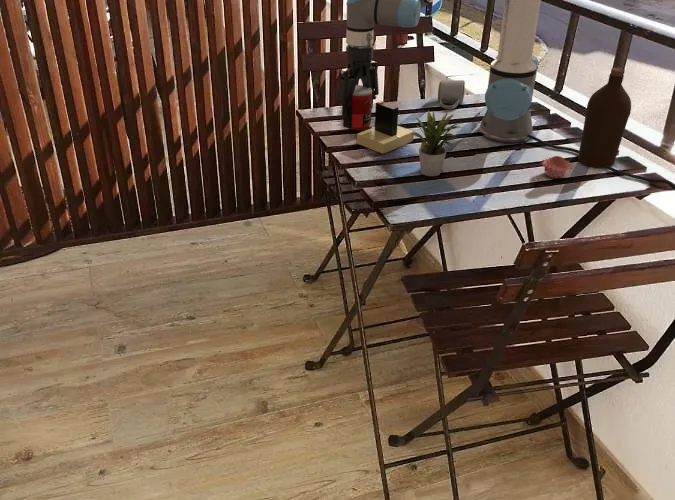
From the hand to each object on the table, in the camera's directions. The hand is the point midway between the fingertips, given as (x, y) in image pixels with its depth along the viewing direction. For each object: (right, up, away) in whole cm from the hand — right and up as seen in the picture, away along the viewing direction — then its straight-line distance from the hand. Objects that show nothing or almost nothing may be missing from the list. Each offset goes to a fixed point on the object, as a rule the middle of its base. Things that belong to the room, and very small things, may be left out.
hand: (357, 123), depth 190 cm
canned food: (0, -1, +1) cm, 1 cm away
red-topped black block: (+8, -4, -7) cm, 11 cm away
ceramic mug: (+31, +10, +22) cm, 39 cm away
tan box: (+8, -6, -5) cm, 11 cm away
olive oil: (+64, -13, -14) cm, 67 cm away
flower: (+50, -18, -23) cm, 58 cm away
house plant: (+18, -18, -22) cm, 34 cm away
